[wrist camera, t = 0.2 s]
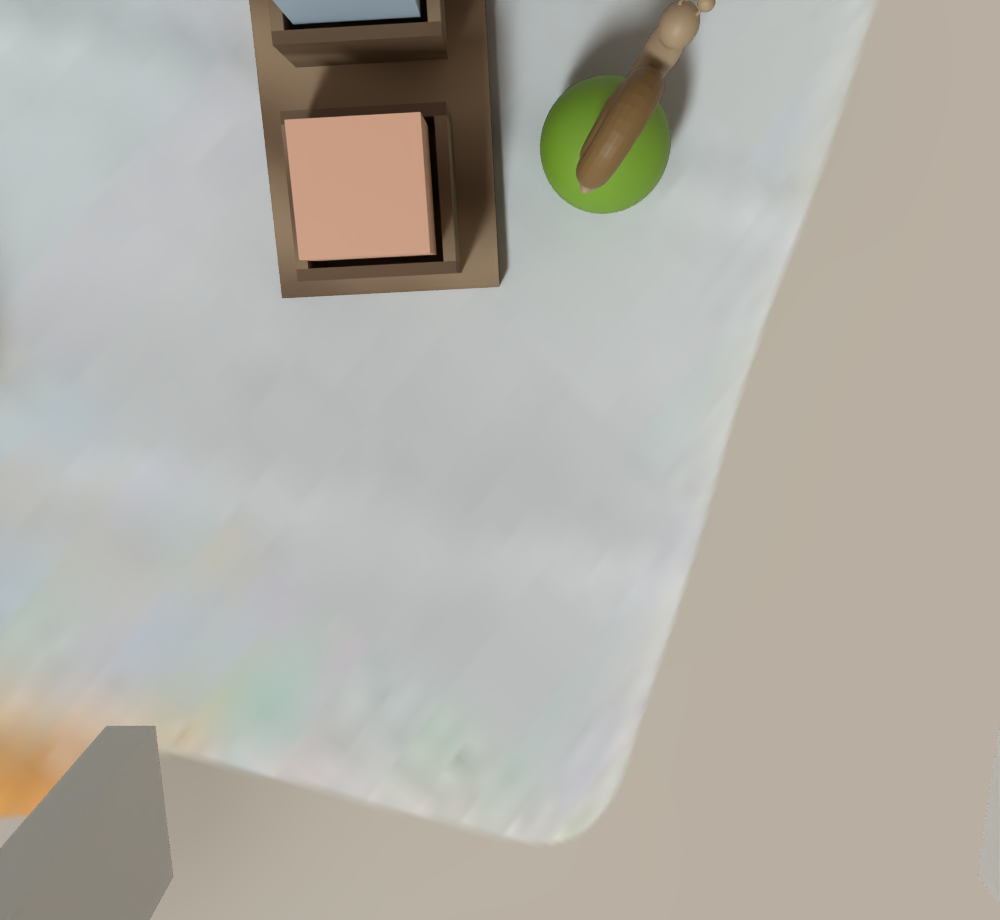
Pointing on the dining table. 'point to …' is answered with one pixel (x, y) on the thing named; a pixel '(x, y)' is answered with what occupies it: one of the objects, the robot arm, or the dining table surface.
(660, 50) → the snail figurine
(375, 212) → the terracotta key
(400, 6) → the slate key
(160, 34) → the dining table surface
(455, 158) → the wooden socket tray
